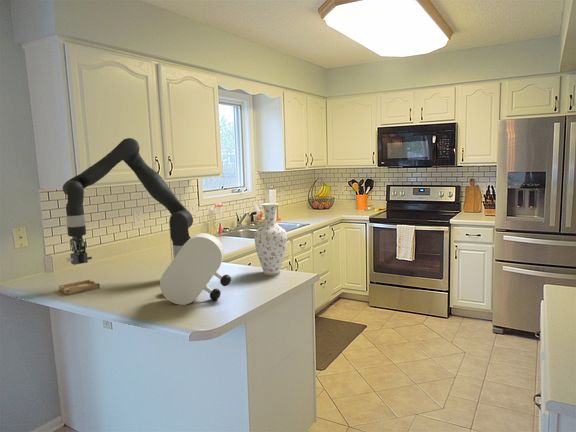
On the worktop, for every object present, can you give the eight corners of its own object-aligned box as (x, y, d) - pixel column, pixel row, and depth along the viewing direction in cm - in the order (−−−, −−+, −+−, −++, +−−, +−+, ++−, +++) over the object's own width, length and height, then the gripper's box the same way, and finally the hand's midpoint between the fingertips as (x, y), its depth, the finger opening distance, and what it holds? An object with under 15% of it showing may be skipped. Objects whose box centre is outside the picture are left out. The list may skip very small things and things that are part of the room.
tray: (99, 288, 204) (99, 283, 204) (67, 295, 194) (67, 290, 194) (90, 283, 212) (90, 279, 212) (59, 290, 202) (59, 285, 202)
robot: (246, 259, 186) (198, 225, 183) (244, 264, 177) (195, 229, 174) (204, 314, 188) (157, 282, 186) (201, 322, 180) (152, 288, 177)
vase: (271, 267, 234) (268, 201, 229) (294, 272, 224) (292, 203, 219) (249, 274, 222) (246, 204, 217) (272, 279, 212) (270, 206, 207)
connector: (93, 261, 204) (92, 252, 204) (68, 265, 197) (68, 255, 197) (90, 260, 207) (89, 250, 207) (65, 264, 200) (65, 254, 199)
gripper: (90, 225, 197) (93, 263, 200) (79, 222, 207) (82, 258, 210) (72, 227, 192) (76, 266, 195) (62, 224, 202) (65, 261, 205)
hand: (79, 261), depth 202 cm, fingers closed on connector, 4 cm apart
